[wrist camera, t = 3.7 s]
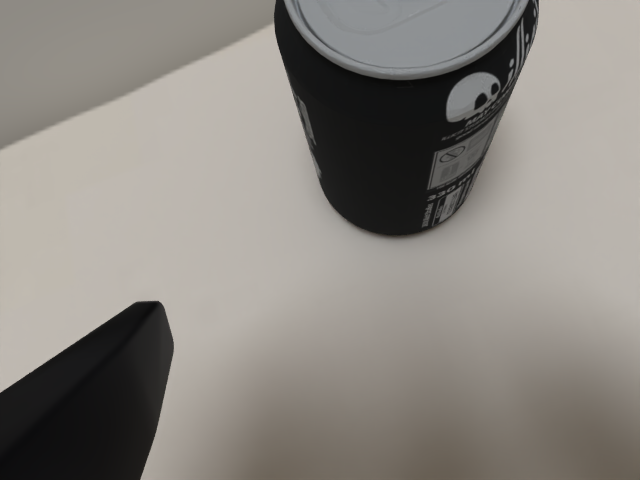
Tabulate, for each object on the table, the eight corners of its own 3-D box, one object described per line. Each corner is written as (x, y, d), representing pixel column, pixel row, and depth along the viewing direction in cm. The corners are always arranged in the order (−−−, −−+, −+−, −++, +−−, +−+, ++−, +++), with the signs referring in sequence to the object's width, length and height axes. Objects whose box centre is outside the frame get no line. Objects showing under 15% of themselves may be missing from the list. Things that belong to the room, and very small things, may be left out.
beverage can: (309, 110, 25) (248, -124, 14) (457, 85, 25) (520, -179, 14) (329, 252, 24) (277, 115, 12) (489, 227, 23) (592, 61, 12)
